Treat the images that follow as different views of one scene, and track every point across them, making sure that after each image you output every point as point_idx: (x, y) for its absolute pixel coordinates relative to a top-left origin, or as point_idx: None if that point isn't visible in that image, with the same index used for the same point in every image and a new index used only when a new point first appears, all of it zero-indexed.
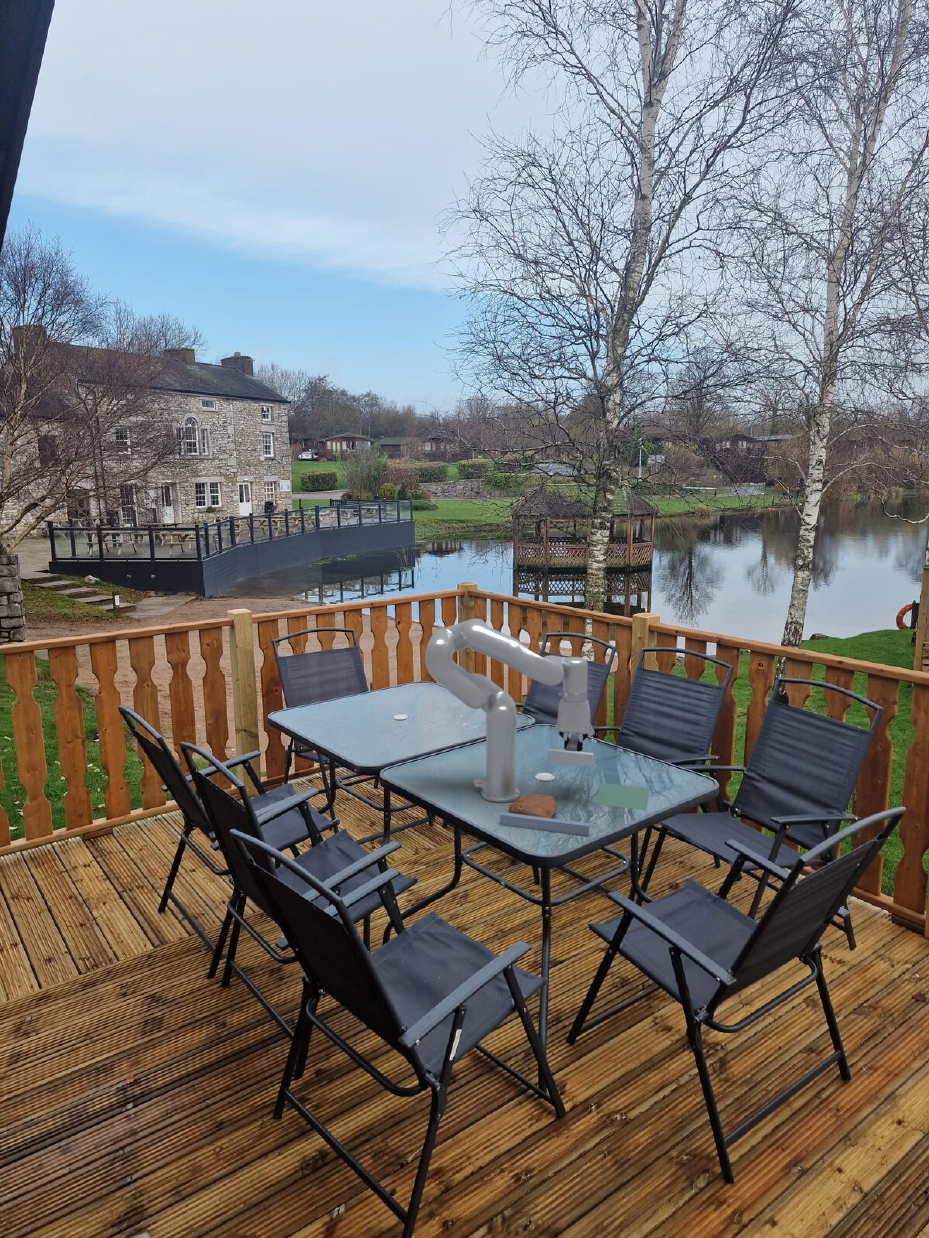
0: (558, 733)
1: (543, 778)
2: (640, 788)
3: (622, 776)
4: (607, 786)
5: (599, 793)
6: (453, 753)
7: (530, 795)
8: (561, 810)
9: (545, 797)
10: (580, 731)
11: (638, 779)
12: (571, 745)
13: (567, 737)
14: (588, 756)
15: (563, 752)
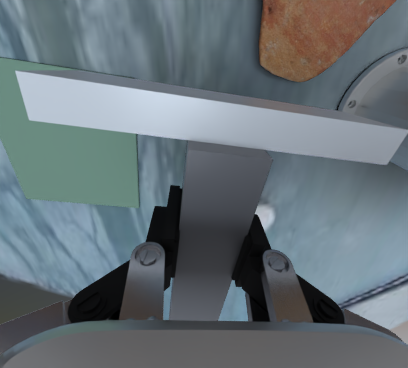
0: (337, 309)
1: (258, 211)
2: (45, 193)
3: (103, 241)
4: (120, 192)
5: (131, 152)
6: (395, 273)
7: (347, 35)
8: (231, 11)
9: (301, 7)
10: (115, 360)
11: (69, 234)
12: (224, 200)
13: (256, 280)
14: (73, 77)
15: (290, 110)
